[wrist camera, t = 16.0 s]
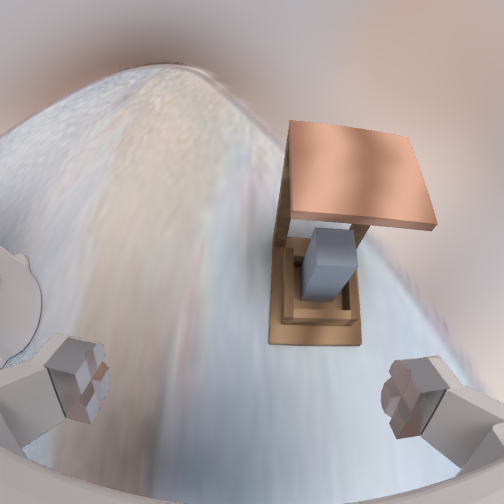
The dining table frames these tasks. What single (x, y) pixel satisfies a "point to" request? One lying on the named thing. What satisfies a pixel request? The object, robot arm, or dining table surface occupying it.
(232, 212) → the dining table surface
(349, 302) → the wooden frame stand
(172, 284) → the dining table surface
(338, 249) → the peg
